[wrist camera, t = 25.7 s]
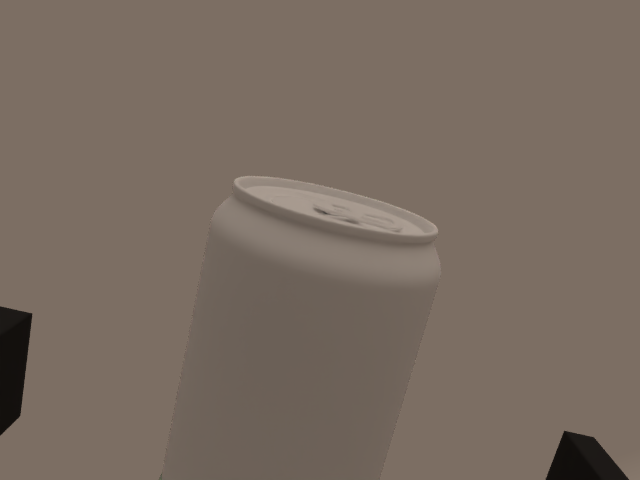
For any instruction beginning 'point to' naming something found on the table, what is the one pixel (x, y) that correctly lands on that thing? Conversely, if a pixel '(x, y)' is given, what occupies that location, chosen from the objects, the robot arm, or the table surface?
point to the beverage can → (301, 335)
